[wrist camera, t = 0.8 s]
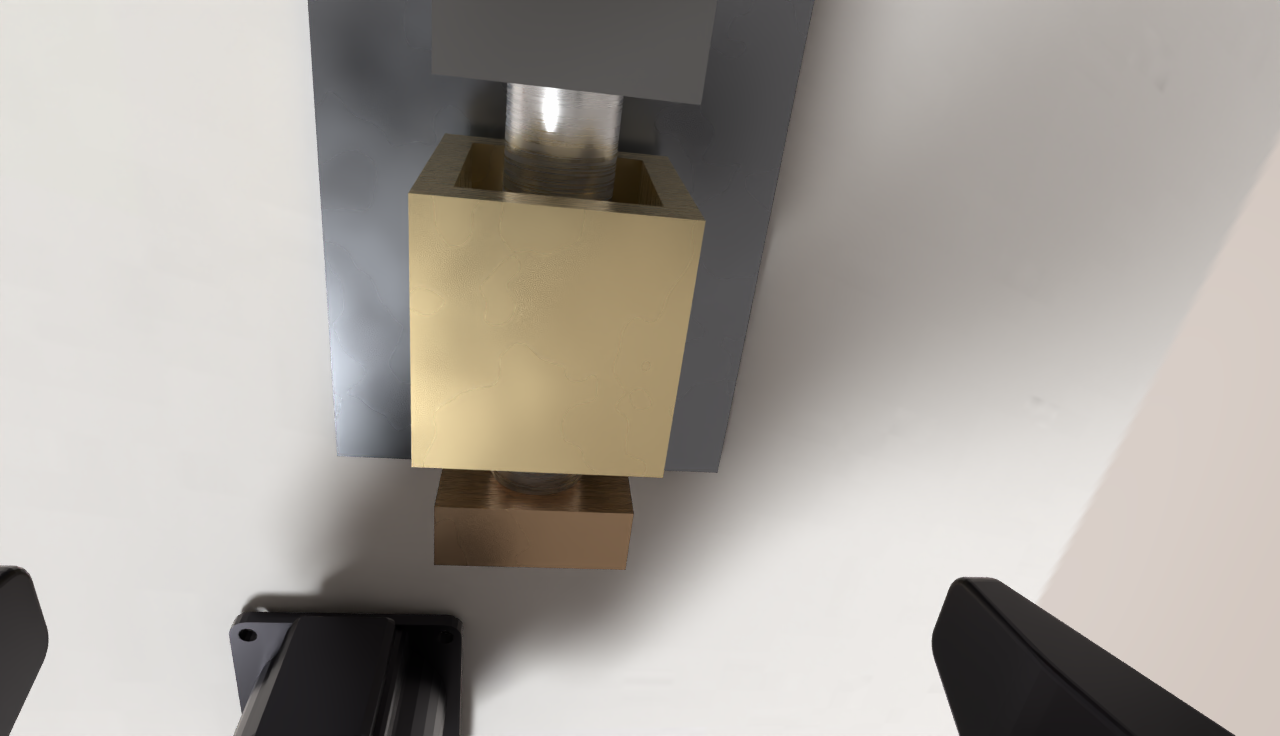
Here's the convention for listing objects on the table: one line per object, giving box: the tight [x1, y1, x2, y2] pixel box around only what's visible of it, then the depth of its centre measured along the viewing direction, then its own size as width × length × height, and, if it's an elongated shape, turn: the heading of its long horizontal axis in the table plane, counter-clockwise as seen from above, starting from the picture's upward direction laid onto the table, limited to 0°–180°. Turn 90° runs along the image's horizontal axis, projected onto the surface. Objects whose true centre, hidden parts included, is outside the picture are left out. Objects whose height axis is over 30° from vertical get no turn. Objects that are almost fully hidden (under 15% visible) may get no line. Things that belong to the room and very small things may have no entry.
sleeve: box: [408, 133, 706, 478], centre depth 15 cm, size 5×5×5 cm
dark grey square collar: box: [432, 0, 717, 105], centre depth 13 cm, size 2×4×4 cm, turn 82°
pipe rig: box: [308, 0, 814, 570], centre depth 14 cm, size 22×10×5 cm, turn 173°
